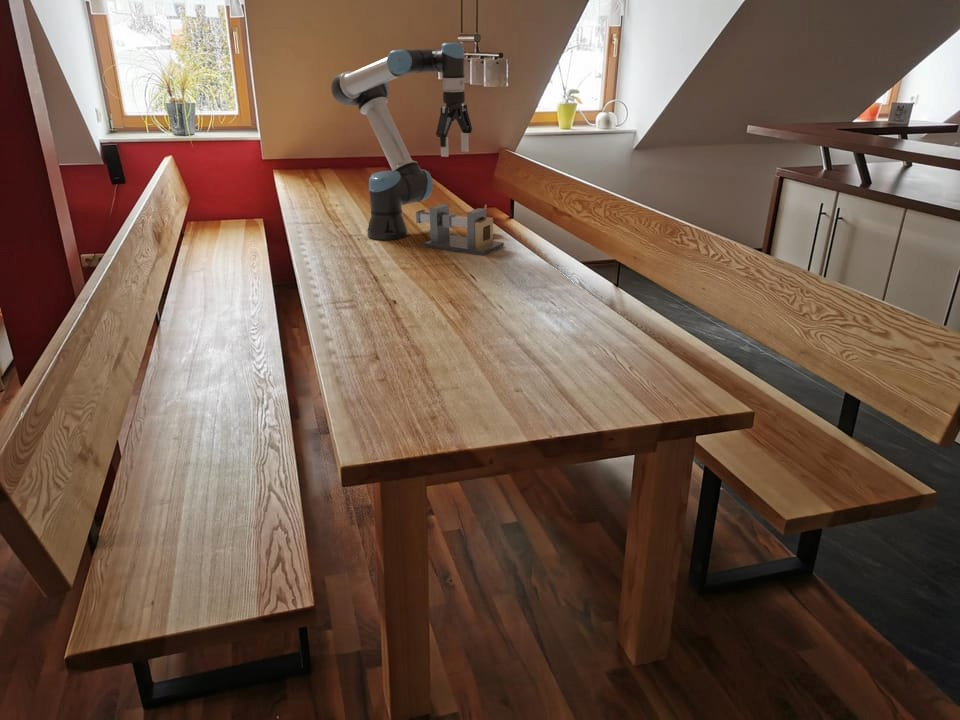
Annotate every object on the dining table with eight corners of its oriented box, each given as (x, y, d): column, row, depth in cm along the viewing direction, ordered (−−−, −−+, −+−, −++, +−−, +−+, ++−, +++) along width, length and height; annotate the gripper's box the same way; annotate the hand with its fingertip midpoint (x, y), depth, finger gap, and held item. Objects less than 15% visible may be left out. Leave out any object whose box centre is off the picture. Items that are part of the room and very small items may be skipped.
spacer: (475, 248, 262) (475, 222, 258) (488, 242, 269) (487, 217, 265) (480, 248, 261) (480, 222, 257) (492, 243, 268) (492, 217, 265)
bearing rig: (423, 246, 270) (422, 209, 264) (444, 238, 281) (443, 202, 276) (484, 255, 258) (484, 216, 253) (503, 246, 269) (503, 208, 264)
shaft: (415, 223, 274) (415, 211, 272) (422, 221, 277) (422, 209, 276) (472, 230, 263) (472, 218, 261) (478, 228, 266) (478, 215, 264)
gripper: (443, 93, 249) (445, 159, 257) (481, 89, 269) (481, 150, 277) (424, 92, 252) (426, 157, 260) (463, 88, 272) (464, 149, 280)
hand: (455, 154), depth 269 cm, fingers open, 13 cm apart
